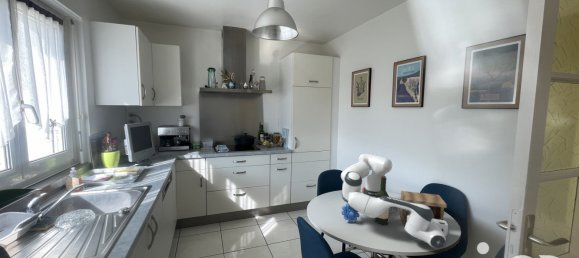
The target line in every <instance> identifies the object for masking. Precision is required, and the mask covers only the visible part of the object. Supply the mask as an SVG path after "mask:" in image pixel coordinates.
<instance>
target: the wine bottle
mask: <svg viewBox="0 0 579 258" xmlns="http://www.w3.org/2000/svg"><path fill="white" fill-rule="evenodd" d="M381 196H388V197H390V196H389V194H388V192H387V177H386V175H384V176H382V177H381V185H380V191H379V192H378V194H377V195H376V198H380V197H381ZM389 211H390V208H388V209H387V210H386V211H385V212H384V213H383V214H382V215H380V216H379V217H376V218H374V223H376V224H377V225H380V226H388V225H389V213H390V212H389Z"/></svg>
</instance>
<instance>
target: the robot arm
mask: <svg viewBox="0 0 579 258" xmlns="http://www.w3.org/2000/svg"><path fill="white" fill-rule="evenodd" d="M392 169H393V162H392V160H391V159H389V158H387V157H385V156H382V155H378V154H371V153H362V154H360V155H359V156H358V160H357V162H355V163H353V164H352V165H349V166H347V167H346V168H345V169H344V170H343V171H342V172H341V174H340V178H341V180H342V191H341V198H342V200H343V201H344V202H345V203H346V204H347V203H348V204H349V205H350V206H351V207H352V208H353V209H355V210H357V211H358V213H359V214H361V215H364V216H366V217H368V218H372V219H375V218H376V217H379V216H380V215H382V214H383V213H384V212H385V211H386V210H387V209H388V208H389V209H390V208H394V207H395V208H399V209H400V208H401V209H405V210H409V211H410V215H408V216H407V221H405V224H404V225H405V226H404V231H405V233H406V234H407V235H408V237H409V238H410V239H412V240H414V241H415V242H419V243H426V244H428V245H429V246H430V247H431V248H432V249H433V248H434V249H438V250H439V249H442V248H444V247H445V245H446V244H447V238H446V236H448V231H449V225H448V222H447V221H446V220H444V219H443V220H438V219H434V218H433V216H434V215H433V212H432V210H431V209H430V208H429V207H428V206H426V205H423V204H418V203H413V202H408V201H404V200H401V198H396V197H392V196H389V197H388V196H381V197H380V198H376V195H377V194H378V192H379V191H380V185H381V177H382V176H386V174H388V173H390V172H391V170H392ZM370 171H371V174H370ZM363 179H365V184H364V185H365V186H362V184H363ZM361 191H362V192H361Z"/></svg>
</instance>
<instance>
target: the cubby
mask: <svg viewBox="0 0 579 258" xmlns="http://www.w3.org/2000/svg"><path fill="white" fill-rule="evenodd" d="M400 200H404V201H408V202H413V203H418V204H423V205H426V206H428V207H429V208H430V209H431V210H432V212H433V215H434V216H433V218H434V219H438V220H444V215H445V214H444V213H445V209H447V205H448V204H447V203H446V202H445V200H443V198H442V197H441V196H440V195H439V194H434V193H425V192H415V191H405V190H401V191H400ZM399 217H400V220H401V222H402V223H401V224H404V225H406V220H405V217H406V210H405V209H401V208H399Z"/></svg>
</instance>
